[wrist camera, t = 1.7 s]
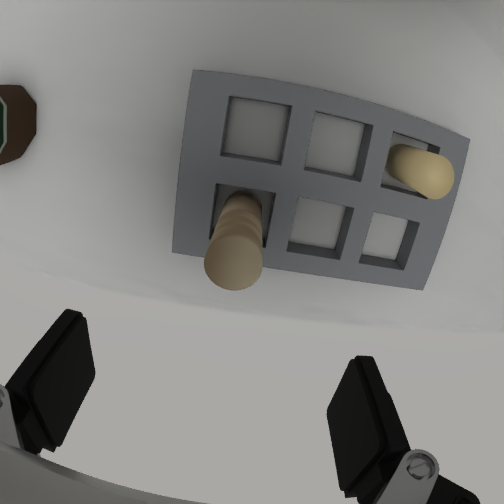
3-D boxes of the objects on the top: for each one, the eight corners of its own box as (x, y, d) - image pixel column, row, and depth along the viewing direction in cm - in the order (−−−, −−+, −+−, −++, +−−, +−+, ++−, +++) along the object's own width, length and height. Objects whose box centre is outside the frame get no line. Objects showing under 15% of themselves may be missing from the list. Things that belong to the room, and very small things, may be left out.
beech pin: (264, 193, 25) (267, 242, 16) (258, 229, 26) (257, 294, 17) (226, 187, 25) (207, 233, 16) (221, 223, 26) (201, 285, 17)
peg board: (457, 136, 22) (499, 146, 17) (414, 279, 28) (441, 315, 23) (198, 73, 21) (179, 61, 16) (177, 242, 27) (158, 276, 22)
